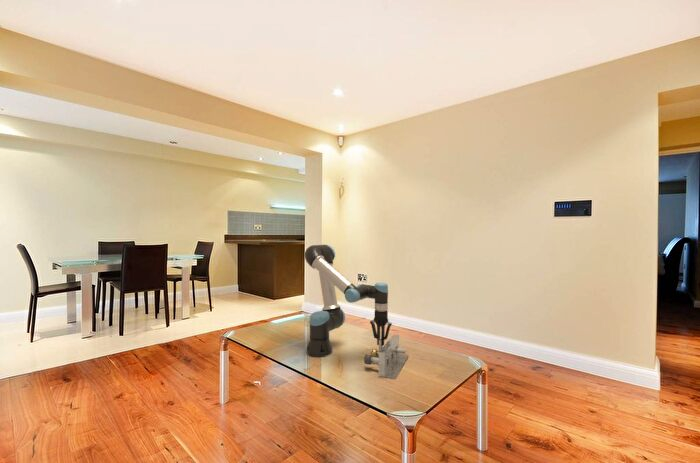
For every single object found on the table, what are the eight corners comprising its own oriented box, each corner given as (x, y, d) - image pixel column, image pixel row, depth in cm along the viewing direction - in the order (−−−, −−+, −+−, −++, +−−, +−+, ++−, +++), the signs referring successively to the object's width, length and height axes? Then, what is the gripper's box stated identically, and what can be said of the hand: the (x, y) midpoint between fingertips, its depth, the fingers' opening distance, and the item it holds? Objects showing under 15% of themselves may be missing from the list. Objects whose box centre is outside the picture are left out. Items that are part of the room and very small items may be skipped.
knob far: (385, 354, 178) (385, 345, 178) (387, 351, 183) (387, 343, 183) (404, 357, 174) (404, 348, 174) (406, 354, 178) (406, 345, 178)
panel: (378, 376, 157) (378, 352, 157) (394, 354, 185) (394, 334, 185) (395, 379, 154) (395, 354, 154) (408, 356, 181) (408, 336, 181)
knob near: (364, 365, 164) (364, 355, 164) (367, 361, 168) (367, 352, 168) (384, 368, 159) (384, 359, 159) (387, 365, 164) (387, 355, 164)
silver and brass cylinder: (370, 357, 172) (370, 350, 172) (372, 355, 176) (372, 348, 176) (389, 360, 168) (389, 353, 168) (391, 358, 172) (391, 350, 172)
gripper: (368, 310, 181) (367, 351, 181) (390, 312, 176) (389, 354, 176) (372, 307, 188) (371, 346, 188) (393, 309, 183) (393, 350, 183)
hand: (380, 350), depth 182 cm, fingers closed
